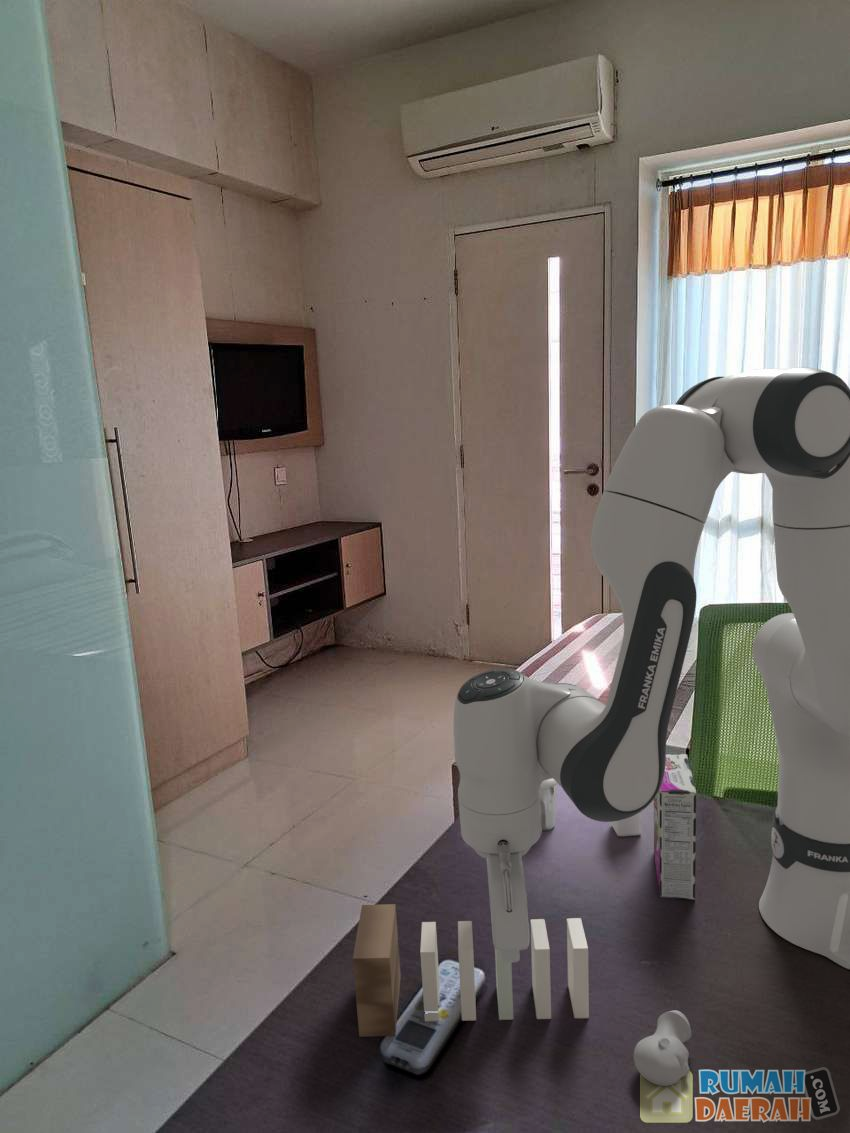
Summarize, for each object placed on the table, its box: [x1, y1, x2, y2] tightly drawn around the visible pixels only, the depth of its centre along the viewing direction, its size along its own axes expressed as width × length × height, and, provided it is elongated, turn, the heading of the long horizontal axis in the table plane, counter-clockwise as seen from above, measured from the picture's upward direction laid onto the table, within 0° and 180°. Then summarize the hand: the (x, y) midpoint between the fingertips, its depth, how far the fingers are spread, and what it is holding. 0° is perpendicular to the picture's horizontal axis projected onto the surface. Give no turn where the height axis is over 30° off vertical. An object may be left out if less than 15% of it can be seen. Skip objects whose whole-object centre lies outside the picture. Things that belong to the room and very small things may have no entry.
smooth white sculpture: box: [633, 1009, 692, 1087], centre depth 80 cm, size 4×8×5 cm
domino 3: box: [494, 948, 514, 1021], centre depth 89 cm, size 2×5×9 cm, turn 178°
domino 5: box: [566, 917, 590, 1019], centre depth 89 cm, size 2×5×9 cm, turn 178°
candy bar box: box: [653, 752, 697, 901], centre depth 109 cm, size 11×5×16 cm, turn 168°
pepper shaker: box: [610, 810, 643, 837], centre depth 122 cm, size 4×4×10 cm
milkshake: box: [540, 779, 559, 832], centre depth 125 cm, size 4×5×10 cm
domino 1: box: [420, 921, 441, 1022], centre depth 89 cm, size 2×5×9 cm, turn 178°
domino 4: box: [530, 918, 552, 1020], centre depth 89 cm, size 2×5×9 cm, turn 178°
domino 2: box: [457, 920, 477, 1022], centre depth 89 cm, size 2×5×9 cm, turn 178°
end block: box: [352, 903, 402, 1038], centre depth 89 cm, size 4×9×10 cm, turn 178°
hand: (507, 928), depth 88 cm, fingers open, 8 cm apart
